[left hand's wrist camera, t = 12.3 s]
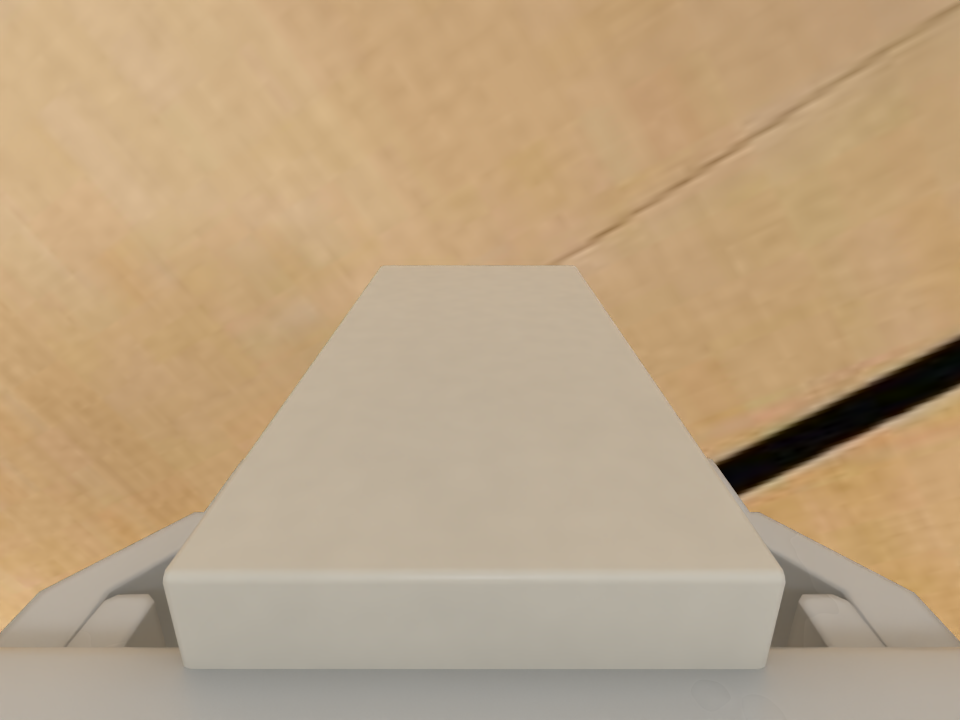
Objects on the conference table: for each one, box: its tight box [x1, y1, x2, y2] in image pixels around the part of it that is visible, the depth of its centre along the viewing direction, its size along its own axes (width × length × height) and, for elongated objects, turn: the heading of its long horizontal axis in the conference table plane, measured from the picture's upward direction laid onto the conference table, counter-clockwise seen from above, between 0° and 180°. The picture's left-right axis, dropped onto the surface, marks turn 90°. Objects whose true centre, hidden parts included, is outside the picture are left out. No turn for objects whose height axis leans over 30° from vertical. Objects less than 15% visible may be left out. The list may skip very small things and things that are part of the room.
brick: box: [163, 266, 786, 669], centre depth 11 cm, size 5×5×11 cm
